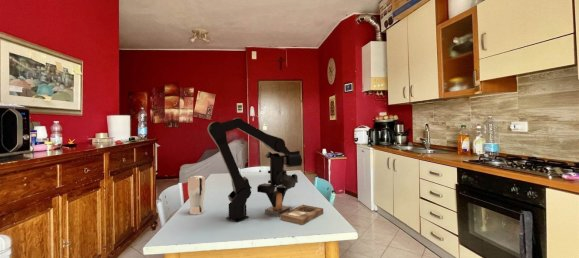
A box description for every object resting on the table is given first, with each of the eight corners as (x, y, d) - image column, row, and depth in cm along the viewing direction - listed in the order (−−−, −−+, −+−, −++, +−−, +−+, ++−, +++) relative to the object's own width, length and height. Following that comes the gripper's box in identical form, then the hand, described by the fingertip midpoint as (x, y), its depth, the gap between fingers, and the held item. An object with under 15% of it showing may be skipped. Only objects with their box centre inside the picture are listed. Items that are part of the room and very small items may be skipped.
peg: (278, 210, 112) (278, 195, 112) (270, 208, 114) (270, 194, 114) (284, 207, 115) (284, 193, 115) (276, 206, 118) (276, 192, 118)
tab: (278, 217, 110) (278, 212, 110) (264, 214, 114) (264, 209, 114) (290, 211, 116) (290, 207, 116) (276, 209, 120) (276, 204, 120)
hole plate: (302, 225, 101) (302, 218, 101) (280, 219, 107) (280, 213, 107) (323, 213, 114) (323, 207, 114) (302, 209, 120) (302, 203, 120)
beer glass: (196, 216, 112) (195, 179, 112) (184, 213, 116) (183, 177, 116) (209, 211, 118) (208, 176, 118) (197, 209, 122) (196, 174, 122)
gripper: (278, 173, 102) (279, 215, 103) (305, 166, 118) (305, 203, 118) (256, 170, 109) (256, 210, 109) (284, 164, 124) (284, 199, 124)
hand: (277, 205), depth 115 cm, fingers closed on peg, 4 cm apart
